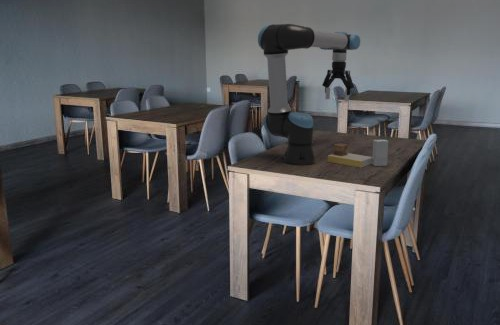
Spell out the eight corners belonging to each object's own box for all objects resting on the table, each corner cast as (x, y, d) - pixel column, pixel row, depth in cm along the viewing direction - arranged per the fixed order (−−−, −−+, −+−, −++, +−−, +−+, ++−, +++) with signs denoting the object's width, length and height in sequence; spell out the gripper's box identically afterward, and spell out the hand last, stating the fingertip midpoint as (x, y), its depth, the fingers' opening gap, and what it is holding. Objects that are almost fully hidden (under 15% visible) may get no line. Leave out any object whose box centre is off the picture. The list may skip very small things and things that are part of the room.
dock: (360, 167, 213) (361, 161, 212) (327, 161, 225) (327, 155, 224) (372, 163, 222) (373, 157, 221) (340, 157, 234) (340, 151, 233)
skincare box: (383, 164, 221) (385, 139, 218) (387, 166, 216) (389, 141, 214) (371, 164, 220) (372, 139, 217) (374, 166, 216) (376, 141, 213)
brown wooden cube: (342, 156, 223) (342, 146, 222) (333, 154, 226) (333, 144, 225) (347, 154, 226) (348, 144, 225) (338, 153, 230) (339, 143, 228)
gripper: (362, 61, 244) (359, 101, 249) (326, 60, 263) (324, 98, 268) (353, 61, 240) (350, 102, 245) (317, 60, 258) (315, 98, 263)
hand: (336, 100), depth 256 cm, fingers open, 13 cm apart
